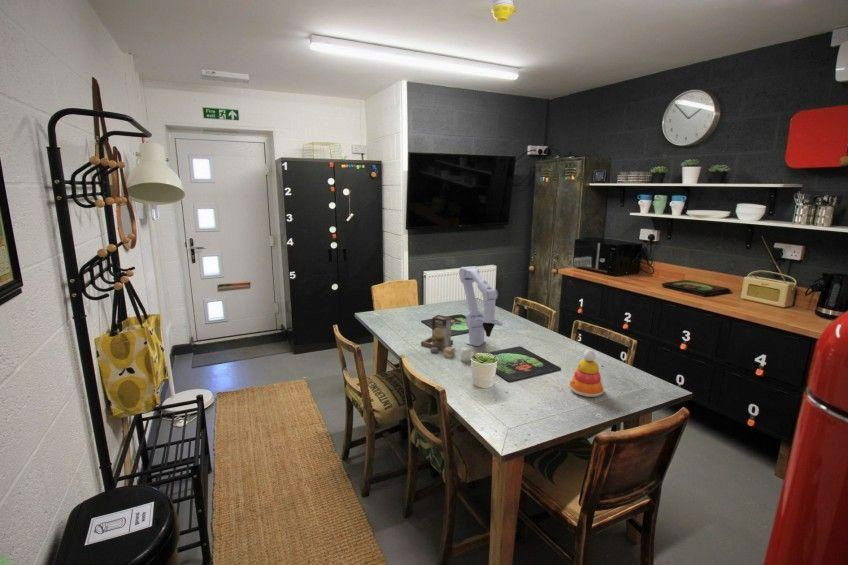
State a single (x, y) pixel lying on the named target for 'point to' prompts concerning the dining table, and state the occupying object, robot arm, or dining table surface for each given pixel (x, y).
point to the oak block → (449, 351)
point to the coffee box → (441, 330)
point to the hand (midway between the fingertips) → (488, 336)
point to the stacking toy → (587, 377)
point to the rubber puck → (434, 350)
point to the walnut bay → (427, 344)
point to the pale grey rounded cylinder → (465, 354)
